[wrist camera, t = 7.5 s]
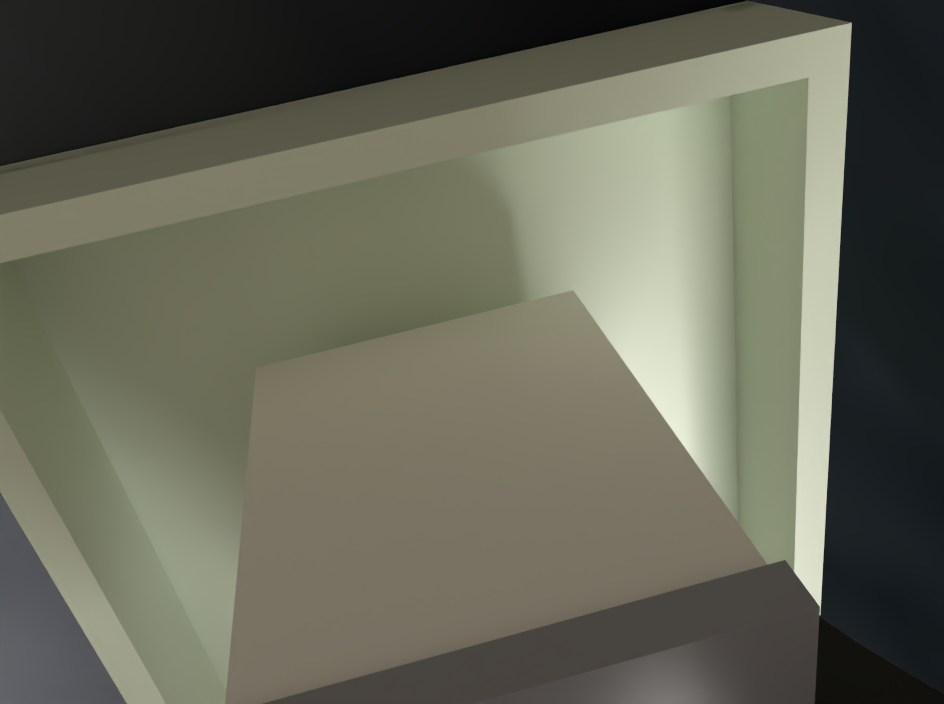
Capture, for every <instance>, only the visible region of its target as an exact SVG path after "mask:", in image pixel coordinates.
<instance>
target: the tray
mask: <svg viewBox="0 0 944 704" xmlns="http://www.w3.org/2000/svg"><path fill="white" fill-rule="evenodd" d="M851 26H852V23H850V22H845V21H841V20H836V19H831V18H827V17H822V16H817V15H812V14H808V13H803V12H798V11H794V10H789V9H784V8H779V7H775V6H770V5H765V4H761V3H756V2H751V1H744V2H740V3H735V4H730V5H726V6H721V7H717V8H712V9H708V10H703V11H699V12H694V13H690V14H685V15H681V16H676V17H672V18H667V19H663V20H658V21H654V22H649V23H645V24H640V25H636V26H631V27H627V28H622V29H618V30H613V31H609V32H604V33H600V34H595V35H590V36H586V37H581V38H577V39H572V40H568V41H563V42H559V43H554V44H550V45H545V46H541V47H536V48H532V49H527V50H523V51H518V52H514V53H509V54H505V55H500V56H496V57H491V58H487V59H482V60H478V61H473V62H469V63H464V64H460V65H455V66H451V67H446V68H441V69H437V70H432V71H428V72H423V73H419V74H414V75H410V76H405V77H401V78H396V79H392V80H387V81H383V82H378V83H374V84H369V85H365V86H360V87H356V88H351V89H347V90H342V91H338V92H333V93H329V94H324V95H320V96H315V97H310V98H306V99H301V100H297V101H292V102H288V103H283V104H279V105H274V106H270V107H265V108H261V109H256V110H252V111H247V112H243V113H238V114H234V115H229V116H225V117H220V118H216V119H211V120H207V121H202V122H198V123H193V124H189V125H184V126H180V127H175V128H171V129H166V130H161V131H157V132H152V133H148V134H143V135H139V136H134V137H130V138H125V139H121V140H116V141H112V142H107V143H103V144H98V145H94V146H89V147H85V148H80V149H76V150H71V151H67V152H62V153H58V154H53V155H49V156H44V157H40V158H35V159H31V160H26V161H21V162H17V163H12V164H8V165H3V166H0V493H1V495H2V496H3V498H4V500H5V501H6V503H7V505H8V506H9V508H10V510H11V511H12V513H13V515H14V516H15V518H16V520H17V521H18V523H19V525H20V526H21V528H22V530H23V531H24V533H25V535H26V536H27V538H28V540H29V541H30V543H31V545H32V546H33V548H34V550H35V551H36V553H37V555H38V556H39V558H40V560H41V561H42V563H43V565H44V566H45V568H46V570H47V571H48V573H49V575H50V576H51V578H52V580H53V581H54V583H55V585H56V586H57V588H58V590H59V591H60V593H61V595H62V596H63V598H64V600H65V601H66V603H67V605H68V606H69V608H70V610H71V611H72V613H73V615H74V616H75V618H76V620H77V621H78V623H79V625H80V626H81V628H82V630H83V631H84V633H85V635H86V636H87V638H88V640H89V641H90V643H91V645H92V646H93V648H94V650H95V651H96V653H97V655H98V656H99V658H100V660H101V661H102V663H103V665H104V666H105V668H106V670H107V671H108V673H109V675H110V676H111V678H112V680H113V681H114V683H115V685H116V686H117V688H118V690H119V691H120V693H121V695H122V696H123V698H124V700H125V701H126V703H127V704H225V699H226V688H227V677H228V667H229V656H230V645H231V634H232V623H233V612H234V602H235V591H236V580H237V569H238V558H239V548H240V537H241V526H242V515H243V504H244V493H245V483H246V472H247V461H248V450H249V439H250V429H251V418H252V407H253V396H254V385H255V375H256V368H257V367H261V366H265V365H269V364H274V363H278V362H282V361H286V360H290V359H294V358H298V357H302V356H306V355H310V354H314V353H318V352H323V351H327V350H331V349H335V348H339V347H343V346H347V345H351V344H355V343H359V342H363V341H367V340H372V339H376V338H380V337H384V336H388V335H392V334H396V333H400V332H404V331H408V330H412V329H416V328H421V327H425V326H429V325H433V324H437V323H441V322H445V321H449V320H453V319H457V318H461V317H466V316H470V315H474V314H478V313H482V312H486V311H490V310H494V309H498V308H502V307H506V306H510V305H515V304H519V303H523V302H527V301H531V300H535V299H539V298H543V297H547V296H551V295H555V294H559V293H564V292H568V291H572V290H574V292H575V293H576V295H577V296H578V298H579V299H580V300H581V302H582V303H583V305H584V306H585V307H586V309H587V310H588V312H589V313H590V314H591V316H592V317H593V319H594V320H595V322H596V323H597V324H598V326H599V327H600V329H601V330H602V331H603V333H604V334H605V336H606V337H607V338H608V340H609V341H610V343H611V344H612V346H613V347H614V348H615V350H616V351H617V353H618V354H619V355H620V357H621V358H622V360H623V361H624V362H625V364H626V365H627V367H628V368H629V370H630V371H631V372H632V374H633V375H634V377H635V378H636V379H637V381H638V382H639V384H640V385H641V386H642V388H643V389H644V391H645V392H646V394H647V395H648V396H649V398H650V399H651V401H652V402H653V403H654V405H655V406H656V408H657V409H658V410H659V412H660V413H661V415H662V416H663V418H664V419H665V420H666V422H667V423H668V425H669V426H670V427H671V429H672V430H673V432H674V433H675V434H676V436H677V437H678V439H679V440H680V442H681V443H682V444H683V446H684V447H685V449H686V450H687V451H688V453H689V454H690V456H691V457H692V458H693V460H694V461H695V463H696V464H697V465H698V467H699V468H700V470H701V471H702V473H703V474H704V475H705V477H706V478H707V480H708V481H709V482H710V484H711V485H712V487H713V488H714V489H715V491H716V492H717V494H718V495H719V497H720V498H721V499H722V501H723V502H724V504H725V505H726V506H727V508H728V509H729V511H730V512H731V513H732V515H733V516H734V518H735V519H736V521H737V522H738V523H739V525H740V526H741V528H742V529H743V530H744V532H745V533H746V535H747V536H748V537H749V539H750V540H751V542H752V543H753V545H754V546H755V547H756V549H757V550H758V552H759V553H760V554H761V556H762V557H763V559H764V560H765V561H766V563H767V564H772V563H775V562H779V561H783V560H786V562H787V563H788V564H789V566H790V567H791V568H792V570H793V571H794V572H795V574H796V575H797V576H798V578H799V579H800V580H801V582H802V583H803V585H804V586H805V587H806V589H807V590H808V591H809V593H810V594H811V595H812V597H813V598H814V599H815V601H816V602H817V603H818V605H819V606H820V610H821V591H822V572H823V554H824V535H825V516H826V497H827V478H828V459H829V440H830V422H831V403H832V384H833V365H834V346H835V327H836V309H837V290H838V271H839V252H840V233H841V214H842V196H843V177H844V158H845V139H846V120H847V101H848V83H849V64H850V45H851Z"/></svg>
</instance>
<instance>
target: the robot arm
mask: <svg viewBox="0 0 944 704" xmlns="http://www.w3.org/2000/svg"><path fill="white" fill-rule="evenodd" d="M815 704H944V692H942V691H940V690H938V689H936V688H935V687H933V686H931V685H929V684H927V683H926V682H924V681H922V680H920V679H919V678H917V677H915V676H914V675H912V674H910V673H909V672H907V671H905V670H904V669H902V668H900V667H899V666H897V665H895V664H893V663H892V662H890V661H888V660H887V659H885V658H884V657H882V656H880V655H879V654H877V653H876V652H874V651H872V650H871V649H869V648H868V647H866V646H865V645H863V644H862V643H860V642H858V641H857V640H855V639H854V638H852V637H851V636H849V635H848V634H846V633H845V632H843V631H842V630H840V629H839V628H837V627H836V626H834V625H833V624H832V623H830V622H829V621H827V620H826V619H824V618H823V617H821V616H820V615H819V633H818V651H817V669H816V687H815Z"/></svg>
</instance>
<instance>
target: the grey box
mask: <svg viewBox="0 0 944 704" xmlns="http://www.w3.org/2000/svg"><path fill="white" fill-rule="evenodd" d="M819 615H820V606H819V605H818V603H817V602H816V601H815V599H814V598H813V597H812V595H811V594H810V593H809V591H808V590H807V589H806V587H805V586H804V585H803V583H802V582H801V580H800V579H799V578H798V576H797V575H796V574H795V572H794V571H793V570H792V568H791V567H790V566H789V564H788V563H787V562H786V560H783V561H779V562H775V563H772V564H767V563H766V561H765V560H764V559H763V557H762V556H761V554H760V553H759V552H758V550H757V549H756V547H755V546H754V545H753V543H752V542H751V540H750V539H749V537H748V536H747V535H746V533H745V532H744V530H743V529H742V528H741V526H740V525H739V523H738V522H737V521H736V519H735V518H734V516H733V515H732V513H731V512H730V511H729V509H728V508H727V506H726V505H725V504H724V502H723V501H722V499H721V498H720V497H719V495H718V494H717V492H716V491H715V489H714V488H713V487H712V485H711V484H710V482H709V481H708V480H707V478H706V477H705V475H704V474H703V473H702V471H701V470H700V468H699V467H698V465H697V464H696V463H695V461H694V460H693V458H692V457H691V456H690V454H689V453H688V451H687V450H686V449H685V447H684V446H683V444H682V443H681V442H680V440H679V439H678V437H677V436H676V434H675V433H674V432H673V430H672V429H671V427H670V426H669V425H668V423H667V422H666V420H665V419H664V418H663V416H662V415H661V413H660V412H659V410H658V409H657V408H656V406H655V405H654V403H653V402H652V401H651V399H650V398H649V396H648V395H647V394H646V392H645V391H644V389H643V388H642V386H641V385H640V384H639V382H638V381H637V379H636V378H635V377H634V375H633V374H632V372H631V371H630V370H629V368H628V367H627V365H626V364H625V362H624V361H623V360H622V358H621V357H620V355H619V354H618V353H617V351H616V350H615V348H614V347H613V346H612V344H611V343H610V341H609V340H608V338H607V337H606V336H605V334H604V333H603V331H602V330H601V329H600V327H599V326H598V324H597V323H596V322H595V320H594V319H593V317H592V316H591V314H590V313H589V312H588V310H587V309H586V307H585V306H584V305H583V303H582V302H581V300H580V299H579V298H578V296H577V295H576V293H575V292H574V290H572V291H568V292H564V293H559V294H555V295H551V296H547V297H543V298H539V299H535V300H531V301H527V302H523V303H519V304H515V305H510V306H506V307H502V308H498V309H494V310H490V311H486V312H482V313H478V314H474V315H470V316H466V317H461V318H457V319H453V320H449V321H445V322H441V323H437V324H433V325H429V326H425V327H421V328H416V329H412V330H408V331H404V332H400V333H396V334H392V335H388V336H384V337H380V338H376V339H372V340H367V341H363V342H359V343H355V344H351V345H347V346H343V347H339V348H335V349H331V350H327V351H323V352H318V353H314V354H310V355H306V356H302V357H298V358H294V359H290V360H286V361H282V362H278V363H274V364H269V365H265V366H261V367H257V368H256V375H255V385H254V396H253V407H252V418H251V429H250V439H249V450H248V461H247V472H246V483H245V493H244V504H243V515H242V526H241V537H240V548H239V558H238V569H237V580H236V591H235V602H234V612H233V623H232V634H231V645H230V656H229V667H228V677H227V688H226V699H225V704H815V687H816V669H817V651H818V633H819Z"/></svg>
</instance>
